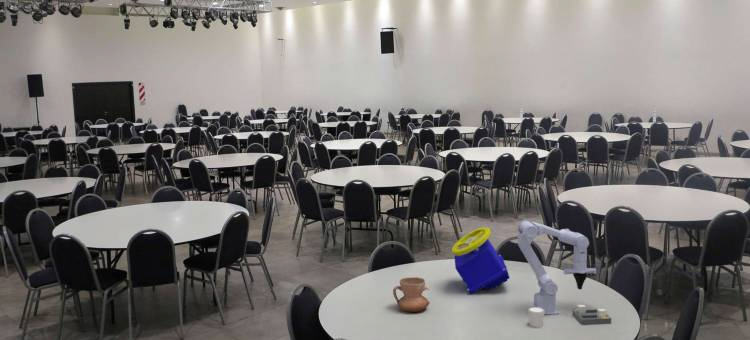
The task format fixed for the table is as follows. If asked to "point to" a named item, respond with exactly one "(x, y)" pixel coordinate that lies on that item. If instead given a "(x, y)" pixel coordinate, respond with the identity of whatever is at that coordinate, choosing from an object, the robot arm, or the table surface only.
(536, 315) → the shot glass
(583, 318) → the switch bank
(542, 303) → the robot arm
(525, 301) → the table surface
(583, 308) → the white block
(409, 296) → the ceramic jug
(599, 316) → the white rectangular block
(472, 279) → the blue valve with handwheel
